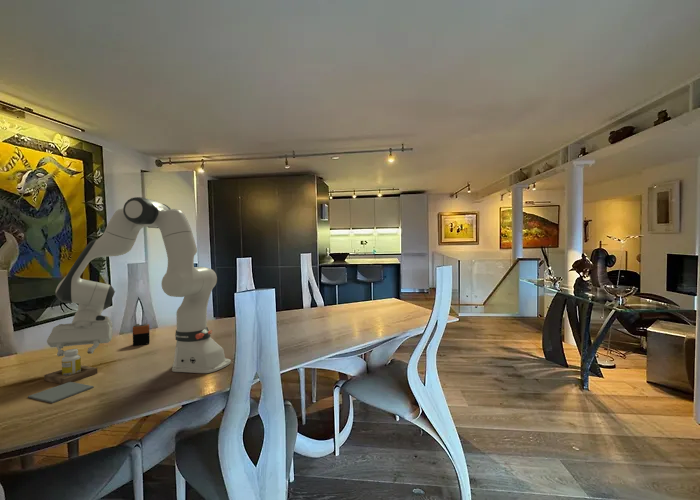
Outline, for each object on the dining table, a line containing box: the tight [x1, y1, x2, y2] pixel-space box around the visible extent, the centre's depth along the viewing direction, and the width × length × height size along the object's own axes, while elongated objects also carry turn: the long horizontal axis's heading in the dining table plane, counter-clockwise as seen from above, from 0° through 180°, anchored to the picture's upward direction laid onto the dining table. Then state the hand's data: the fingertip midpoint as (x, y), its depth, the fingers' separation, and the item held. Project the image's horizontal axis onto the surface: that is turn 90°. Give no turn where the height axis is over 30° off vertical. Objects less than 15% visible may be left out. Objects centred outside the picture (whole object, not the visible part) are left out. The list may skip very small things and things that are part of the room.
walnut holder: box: [43, 364, 99, 385], centre depth 124 cm, size 11×11×2 cm
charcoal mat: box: [27, 381, 94, 404], centre depth 111 cm, size 12×12×1 cm
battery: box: [132, 322, 151, 347], centre depth 166 cm, size 4×7×10 cm, turn 119°
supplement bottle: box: [61, 348, 82, 376], centre depth 124 cm, size 5×5×10 cm
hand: (75, 354), depth 127 cm, fingers open, 8 cm apart
